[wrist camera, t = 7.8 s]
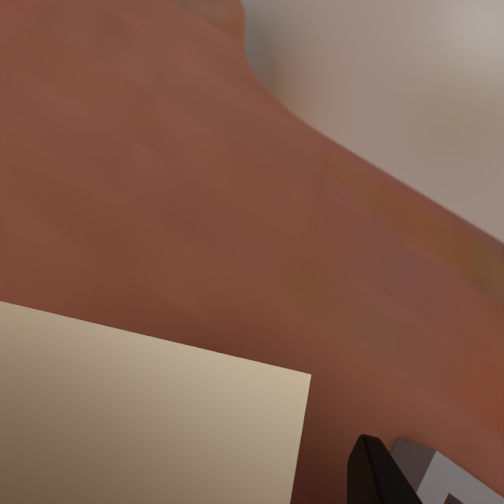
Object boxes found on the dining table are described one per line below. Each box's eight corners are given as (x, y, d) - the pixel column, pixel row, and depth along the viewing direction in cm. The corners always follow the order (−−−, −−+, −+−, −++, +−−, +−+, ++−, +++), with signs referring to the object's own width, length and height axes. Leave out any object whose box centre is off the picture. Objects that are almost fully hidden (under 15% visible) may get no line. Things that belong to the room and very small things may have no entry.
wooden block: (224, 485, 17) (211, 986, 3) (126, 461, 17) (-361, 839, 3) (246, 381, 18) (311, 374, 4) (155, 360, 19) (-76, 284, 4)
